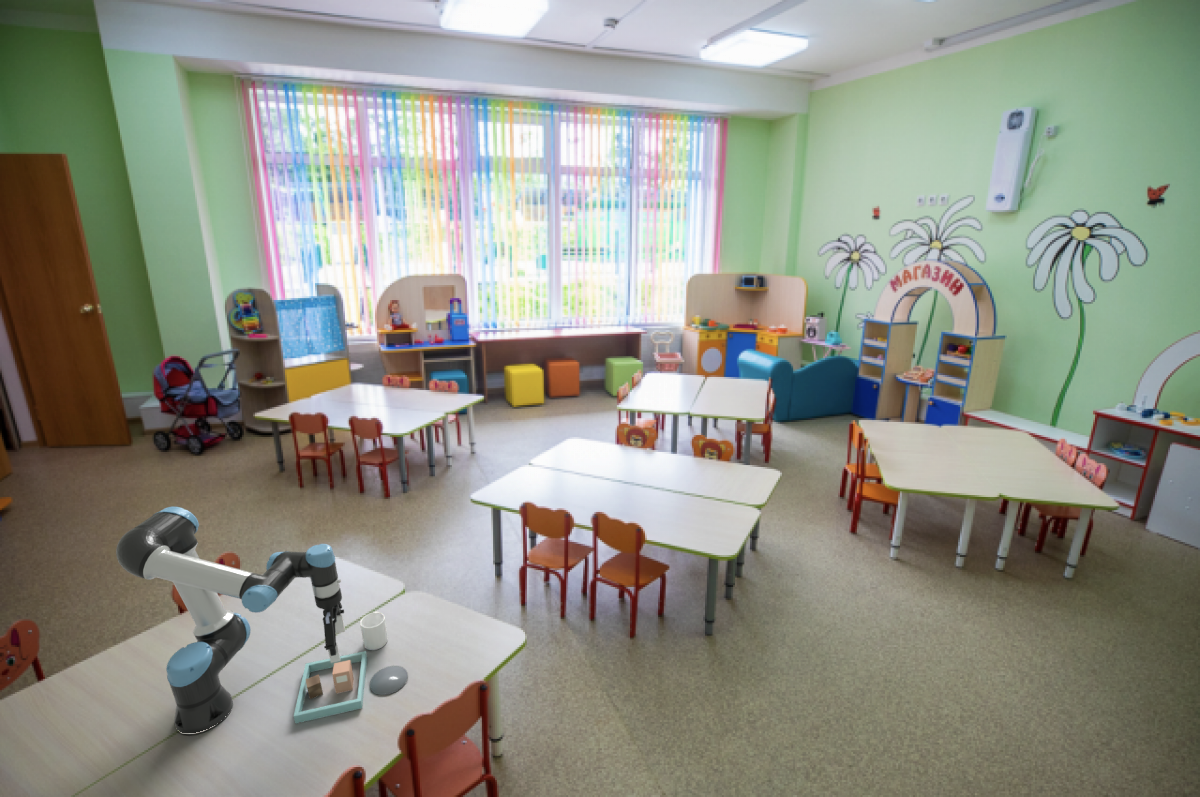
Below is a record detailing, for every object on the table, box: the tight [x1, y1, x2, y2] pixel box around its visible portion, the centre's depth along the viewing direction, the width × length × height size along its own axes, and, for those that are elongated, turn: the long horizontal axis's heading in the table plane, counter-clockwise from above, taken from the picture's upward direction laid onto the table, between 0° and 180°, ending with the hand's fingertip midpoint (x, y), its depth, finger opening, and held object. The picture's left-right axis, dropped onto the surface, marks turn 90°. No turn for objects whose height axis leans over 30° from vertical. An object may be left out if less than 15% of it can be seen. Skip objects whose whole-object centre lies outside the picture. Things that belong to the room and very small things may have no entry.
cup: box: [359, 611, 389, 651], centre depth 210 cm, size 8×12×10 cm
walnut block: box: [306, 674, 324, 700], centre depth 188 cm, size 4×4×5 cm
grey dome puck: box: [369, 665, 409, 696], centre depth 193 cm, size 12×12×1 cm
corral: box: [293, 650, 368, 724], centre depth 190 cm, size 19×22×3 cm
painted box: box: [332, 660, 355, 694], centre depth 190 cm, size 5×5×8 cm
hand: (338, 646), depth 186 cm, fingers open, 13 cm apart
